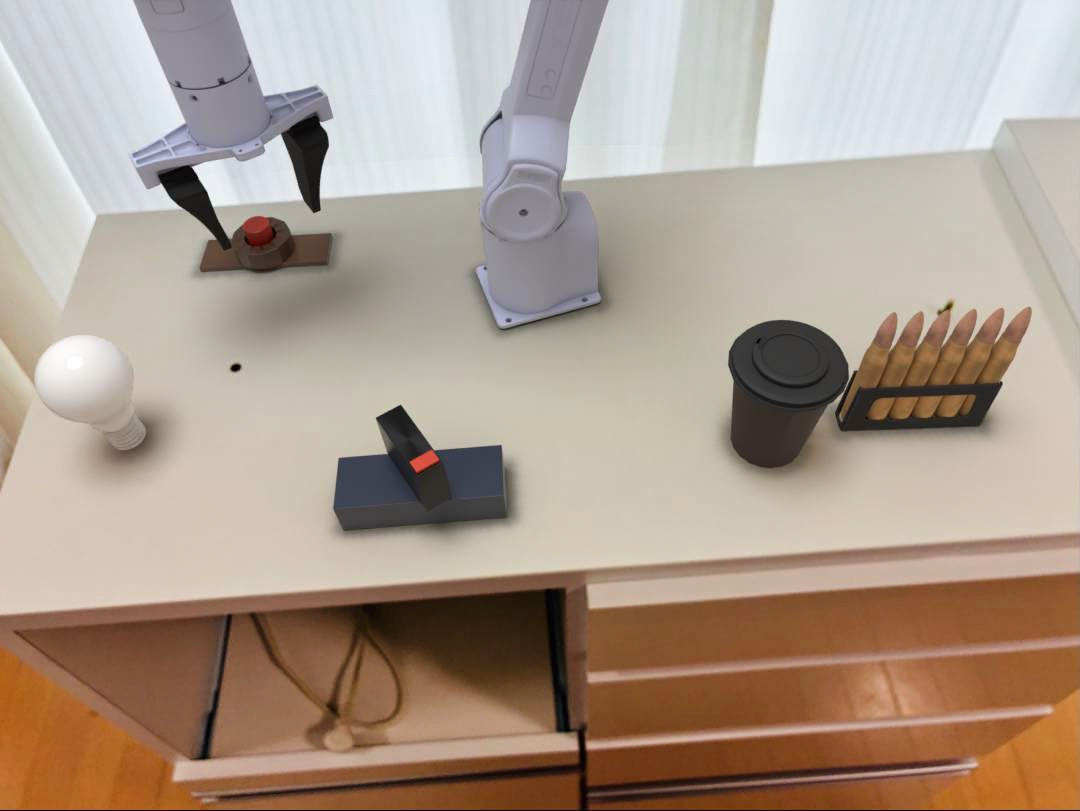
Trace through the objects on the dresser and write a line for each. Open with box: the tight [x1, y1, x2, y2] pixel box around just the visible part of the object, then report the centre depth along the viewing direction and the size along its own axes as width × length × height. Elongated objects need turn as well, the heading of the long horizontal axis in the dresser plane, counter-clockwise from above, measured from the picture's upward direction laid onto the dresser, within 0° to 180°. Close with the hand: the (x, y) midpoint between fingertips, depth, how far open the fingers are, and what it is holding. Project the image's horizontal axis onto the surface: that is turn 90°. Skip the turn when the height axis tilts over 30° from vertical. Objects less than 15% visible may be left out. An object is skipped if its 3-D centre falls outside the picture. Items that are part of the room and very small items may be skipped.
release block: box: [199, 216, 333, 273], centre depth 78 cm, size 12×5×2 cm, turn 92°
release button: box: [242, 215, 274, 246], centre depth 77 cm, size 2×2×2 cm
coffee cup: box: [727, 319, 850, 469], centre depth 59 cm, size 8×8×10 cm
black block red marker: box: [375, 404, 452, 512], centre depth 57 cm, size 6×2×5 cm, turn 34°
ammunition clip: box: [834, 306, 1033, 432], centre depth 59 cm, size 11×2×12 cm, turn 91°
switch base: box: [332, 444, 508, 531], centre depth 60 cm, size 12×4×3 cm, turn 94°
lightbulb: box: [33, 334, 147, 451], centre depth 62 cm, size 6×6×11 cm
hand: (269, 223), depth 67 cm, fingers open, 7 cm apart
